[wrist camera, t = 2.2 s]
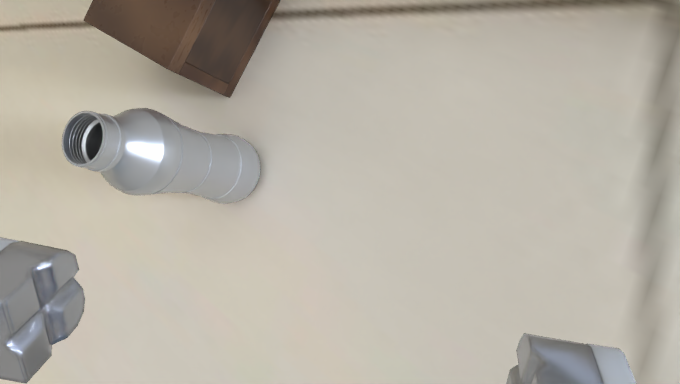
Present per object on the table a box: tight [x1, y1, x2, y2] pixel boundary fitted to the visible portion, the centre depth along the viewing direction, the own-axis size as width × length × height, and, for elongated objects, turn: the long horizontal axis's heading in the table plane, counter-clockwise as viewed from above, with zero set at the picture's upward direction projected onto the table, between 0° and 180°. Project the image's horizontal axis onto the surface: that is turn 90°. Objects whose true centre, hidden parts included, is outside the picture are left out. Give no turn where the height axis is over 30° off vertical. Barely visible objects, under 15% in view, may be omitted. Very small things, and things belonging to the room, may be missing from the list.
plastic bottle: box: [62, 108, 261, 204], centre depth 44 cm, size 6×7×20 cm
